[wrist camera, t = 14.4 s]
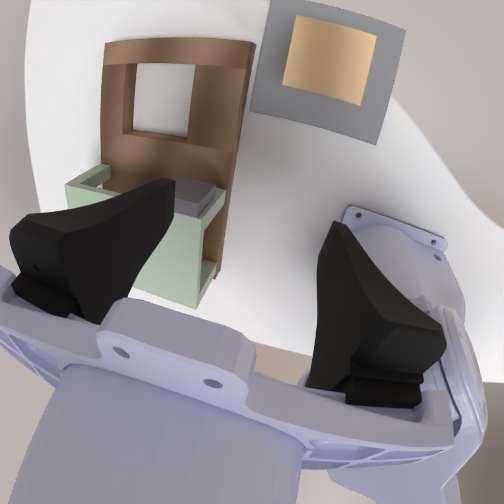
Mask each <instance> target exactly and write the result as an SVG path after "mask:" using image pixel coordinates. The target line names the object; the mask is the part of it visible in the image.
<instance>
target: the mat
mask: <svg viewBox="0 0 504 504" xmlns="http://www.w3.org/2000/svg"><path fill="white" fill-rule="evenodd" d="M296 15H298V16H304V17H309V18H313V19H318V20H323V21H327V22H331V23H335V24H339V25H342V26H346V27H350V28H353V29H356V30H360V31H363V32H366V33H369V34H372V35H375V36H377V38H376V42H375V47H374V51H373V56H372V60H371V64H370V69H369V73H368V77H367V81H366V85H365V89H364V93H363V97H362V100H361V104H360V106H359V105H356V104H353V103H350V102H347V101H343V100H340V99H337V98H333V97H330V96H326V95H322V94H319V93H315V92H311V91H307V90H303V89H299V88H294V87H290V86H285V85H282V82H283V77H284V72H285V67H286V63H287V58H288V53H289V48H290V43H291V39H292V34H293V29H294V24H295V19H296ZM405 32H406V31H405V30H404V29H401V28H399V27H396V26H393V25H391V24H388V23H386V22H383V21H380V20H377V19H374V18H371V17H368V16H365V15H362V14H359V13H355V12H352V11H348V10H345V9H341V8H337V7H333V6H328V5H324V4H319V3H315V2H310V1H305V0H271V4H270V9H269V14H268V19H267V24H266V28H265V33H264V38H263V43H262V48H261V53H260V59H259V64H258V69H257V74H256V80H255V85H254V90H253V96H252V101H251V107H250V111H252V112H257V113H262V114H266V115H271V116H276V117H280V118H284V119H289V120H293V121H297V122H301V123H305V124H308V125H312V126H316V127H319V128H323V129H326V130H330V131H333V132H336V133H340V134H343V135H346V136H349V137H352V138H355V139H358V140H361V141H364V142H367V143H370V144H373V145H376V143H377V140H378V137H379V134H380V131H381V127H382V124H383V121H384V117H385V114H386V110H387V107H388V103H389V99H390V96H391V92H392V88H393V84H394V81H395V77H396V73H397V68H398V64H399V60H400V55H401V51H402V47H403V41H404V37H405Z"/></svg>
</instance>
